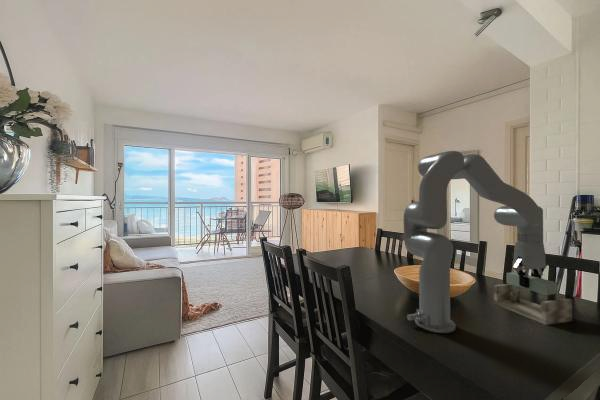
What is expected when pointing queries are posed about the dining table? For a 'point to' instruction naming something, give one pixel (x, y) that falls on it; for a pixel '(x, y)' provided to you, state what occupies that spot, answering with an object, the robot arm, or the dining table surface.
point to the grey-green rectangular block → (533, 283)
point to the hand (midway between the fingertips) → (530, 285)
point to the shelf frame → (533, 305)
